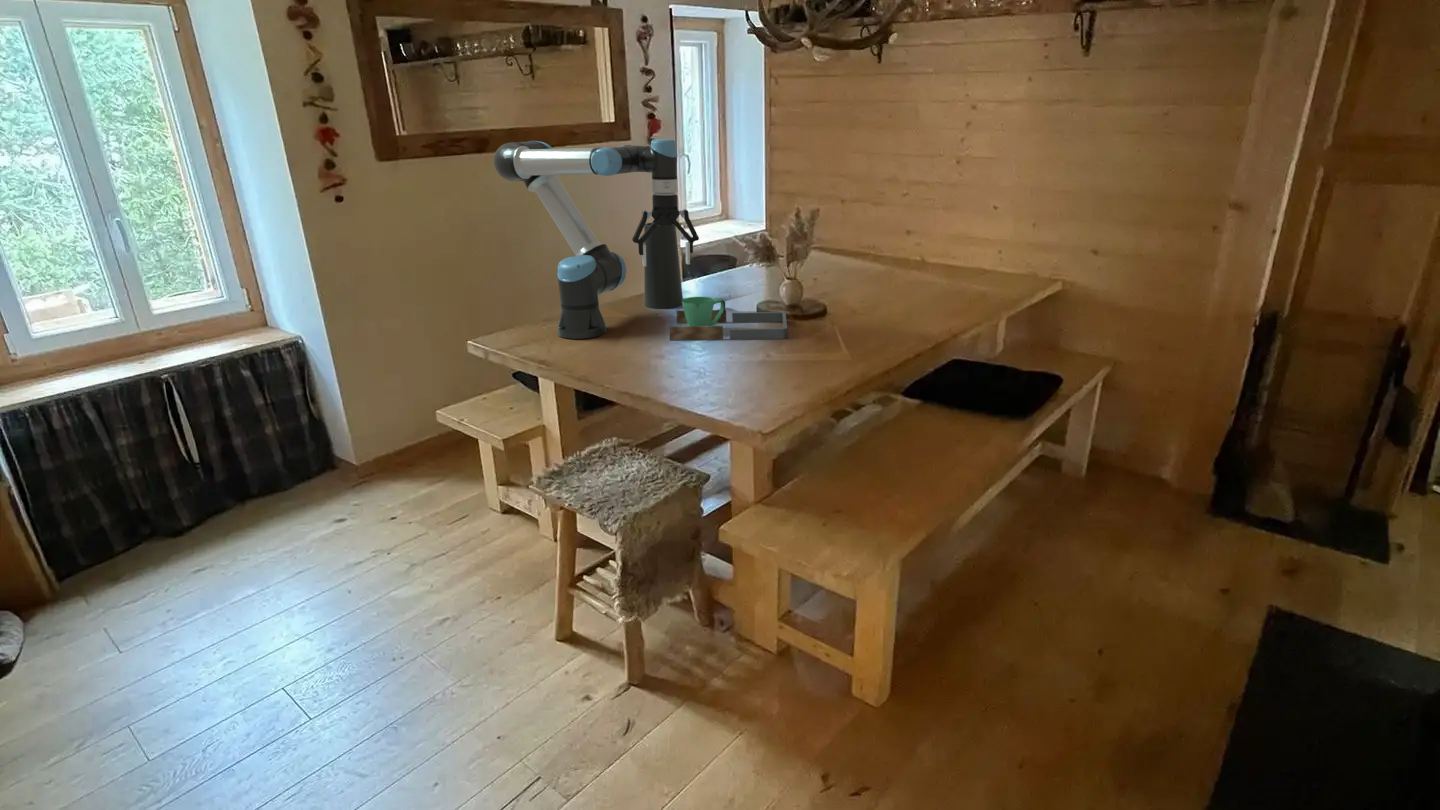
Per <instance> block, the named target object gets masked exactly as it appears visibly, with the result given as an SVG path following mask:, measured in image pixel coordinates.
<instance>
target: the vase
mask: <svg viewBox="0 0 1440 810" xmlns="http://www.w3.org/2000/svg"><path fill="white" fill-rule="evenodd" d="M651 223H652V222H646V223H645V225H644V228H643V230H644V231H643V232H644V233H645V231H646V230H647V229H648V227H649V226H650V225H651ZM644 233H643V234H644ZM643 244H645V245H646V266H643V267H644V268H643V269H644V270H643V271H644V278H643V280H644V285H643V286H644V306H645V308H648V309H652V308H653V310H669V309H675V308H679V307H682V306H683V305H682V300H683V299H684V297H683V287H682V277H681V267H680V257H679V246H678V245H679V244H678V236H677V227H676V226H675V225H674V224H673V225H671V226H668V225H665V226H660V225H658V226H657V227H656V228H655V229H654V230H653V232H652V233H651V234H650V235H649V237H648V238H647V239H646V241H645V242H644V243H643Z"/></svg>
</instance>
